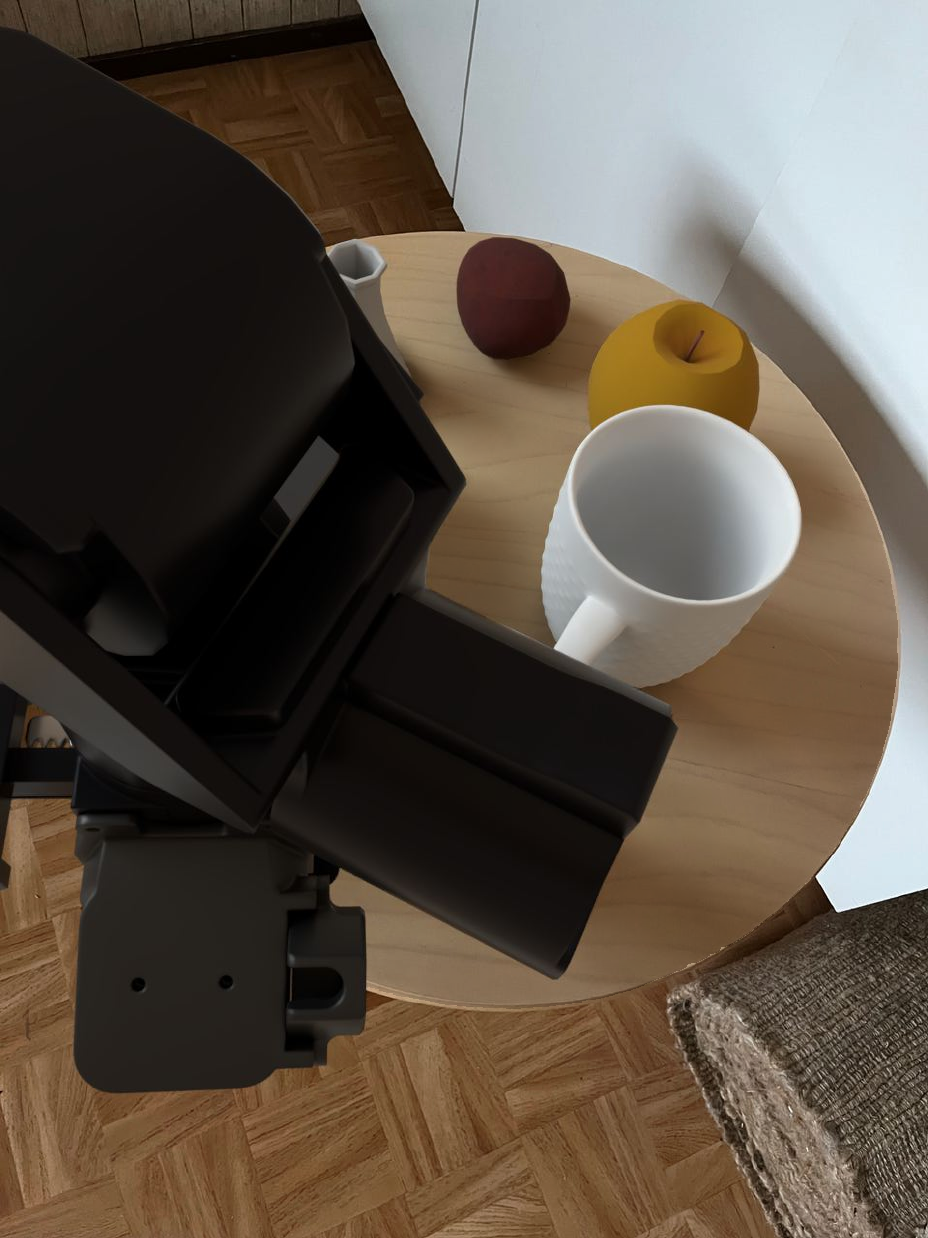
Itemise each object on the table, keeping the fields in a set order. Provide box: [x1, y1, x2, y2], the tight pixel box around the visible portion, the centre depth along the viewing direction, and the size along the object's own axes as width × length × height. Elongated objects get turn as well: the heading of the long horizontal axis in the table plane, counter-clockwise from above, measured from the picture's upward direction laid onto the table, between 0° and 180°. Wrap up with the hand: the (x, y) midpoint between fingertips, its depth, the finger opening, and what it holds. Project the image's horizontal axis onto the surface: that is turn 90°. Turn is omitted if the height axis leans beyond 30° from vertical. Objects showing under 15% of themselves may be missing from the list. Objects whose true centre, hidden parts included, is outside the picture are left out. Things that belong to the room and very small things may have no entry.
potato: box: [455, 236, 572, 361], centre depth 64 cm, size 7×8×6 cm
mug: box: [540, 405, 803, 689], centre depth 51 cm, size 15×11×13 cm
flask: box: [327, 238, 412, 378], centre depth 59 cm, size 7×7×10 cm
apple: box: [587, 299, 760, 432], centre depth 58 cm, size 10×10×12 cm
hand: (240, 852), depth 37 cm, fingers closed
